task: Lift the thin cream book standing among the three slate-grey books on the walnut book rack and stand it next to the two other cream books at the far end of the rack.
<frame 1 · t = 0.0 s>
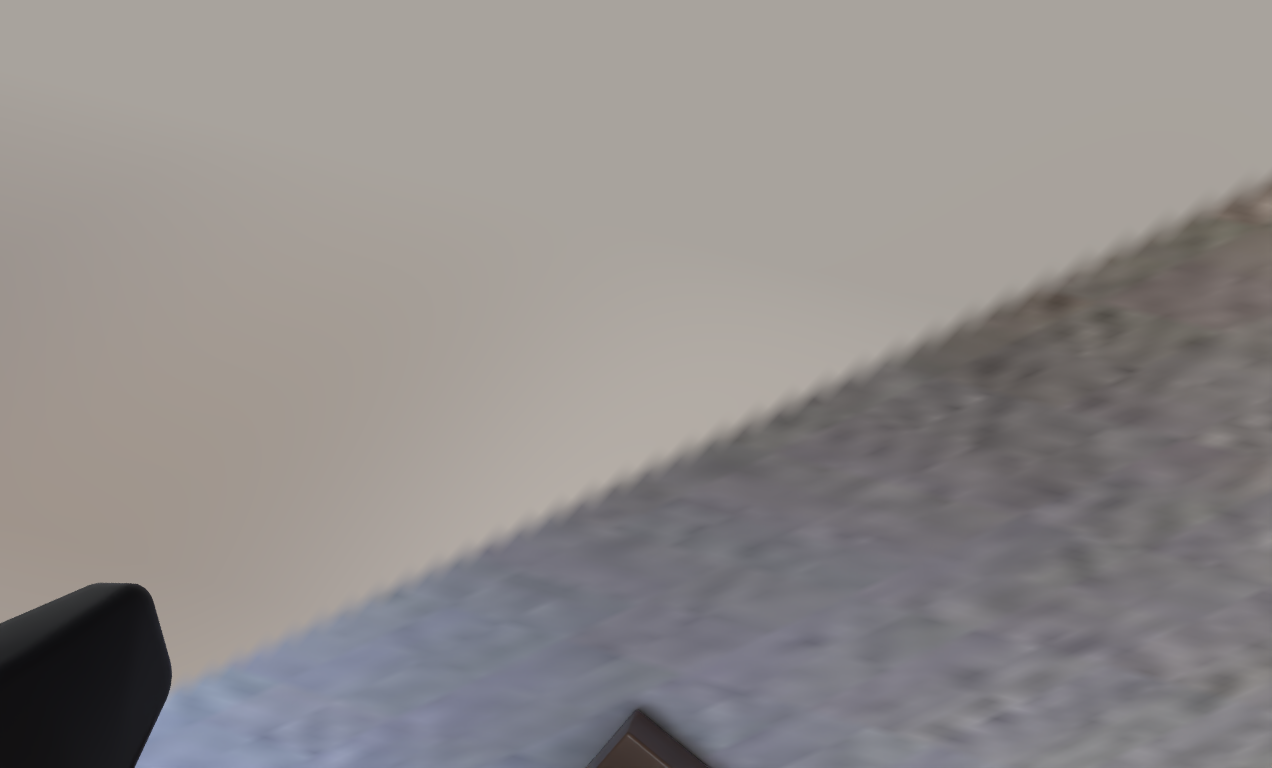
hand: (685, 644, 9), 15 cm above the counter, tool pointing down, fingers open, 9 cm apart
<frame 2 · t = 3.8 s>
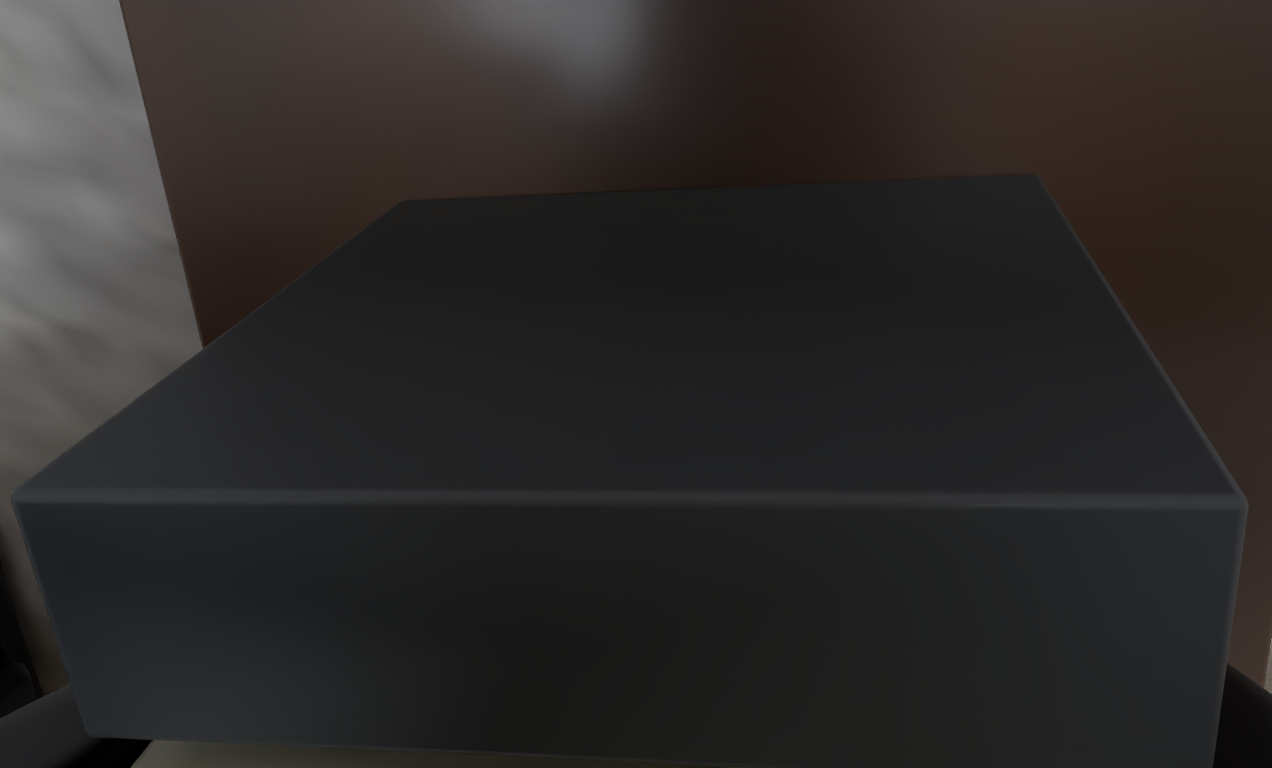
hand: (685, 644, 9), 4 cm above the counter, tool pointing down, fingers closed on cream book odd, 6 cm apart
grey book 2: (709, 268, 11), point 1 cm above the counter, touching book rack
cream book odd: (709, 514, 11), point 2 cm above the counter, touching gripper
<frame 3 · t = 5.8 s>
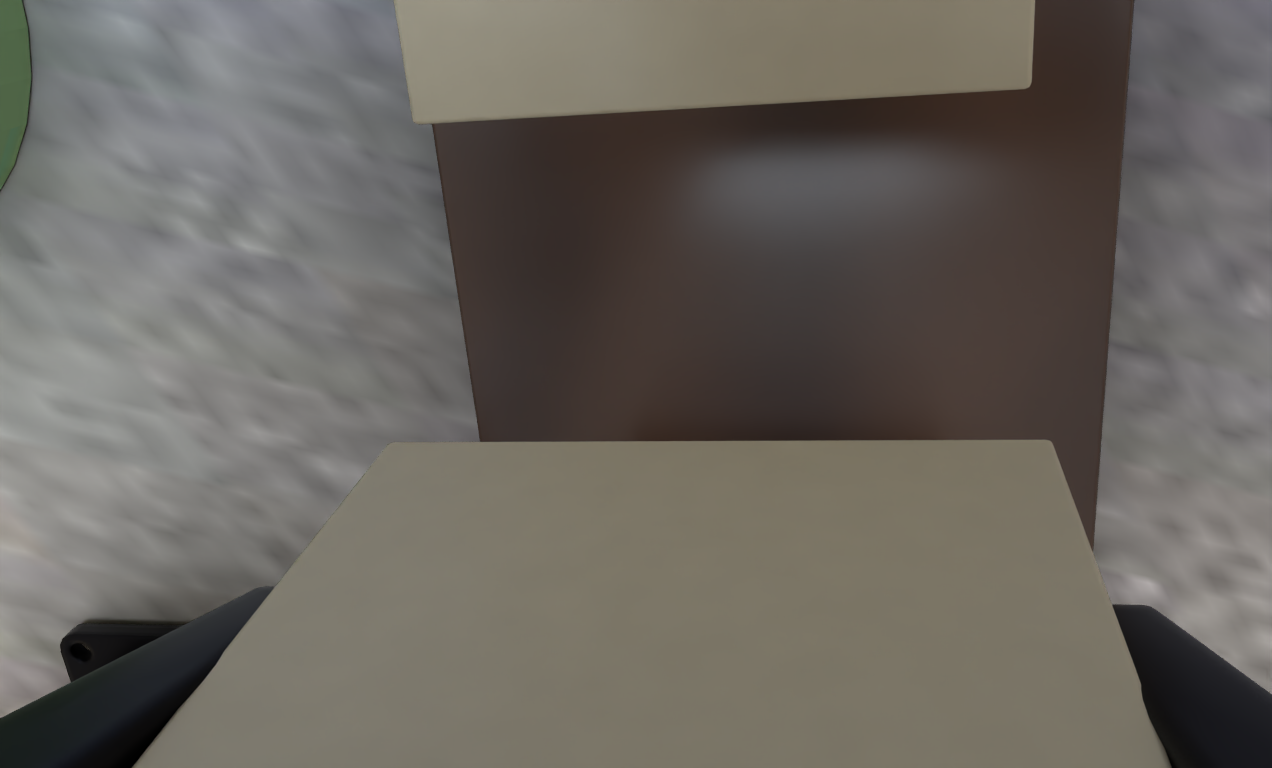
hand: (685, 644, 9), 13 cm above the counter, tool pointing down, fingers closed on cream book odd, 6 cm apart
book rack: (775, 321, 21), on the counter
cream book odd: (708, 516, 11), point 11 cm above the counter, touching gripper
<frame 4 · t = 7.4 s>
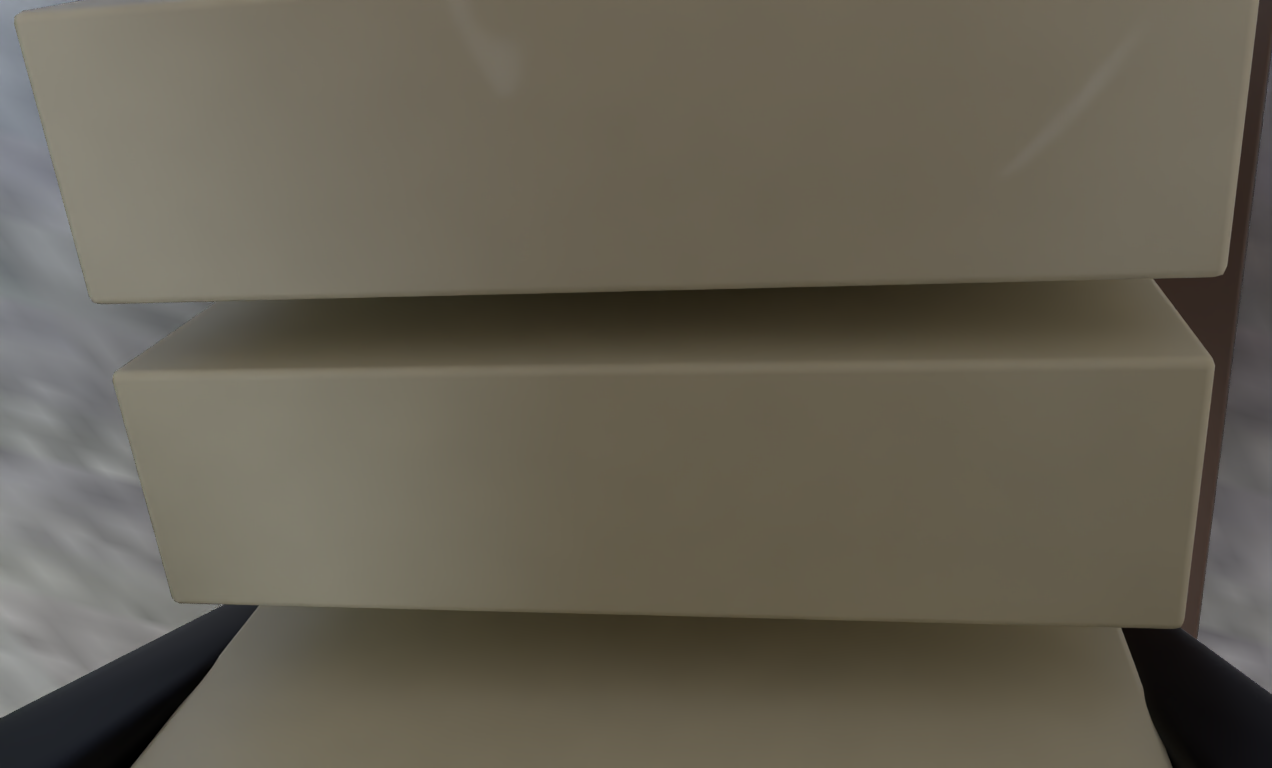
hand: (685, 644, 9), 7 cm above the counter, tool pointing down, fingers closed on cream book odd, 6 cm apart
cream book 1: (737, 178, 13), point 1 cm above the counter, touching book rack
book rack: (764, 585, 17), on the counter
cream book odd: (708, 515, 11), point 5 cm above the counter, touching gripper
when the fingers open (3 cm above the counter, at t = 8.9 s): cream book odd stays where it is, resting on book rack.
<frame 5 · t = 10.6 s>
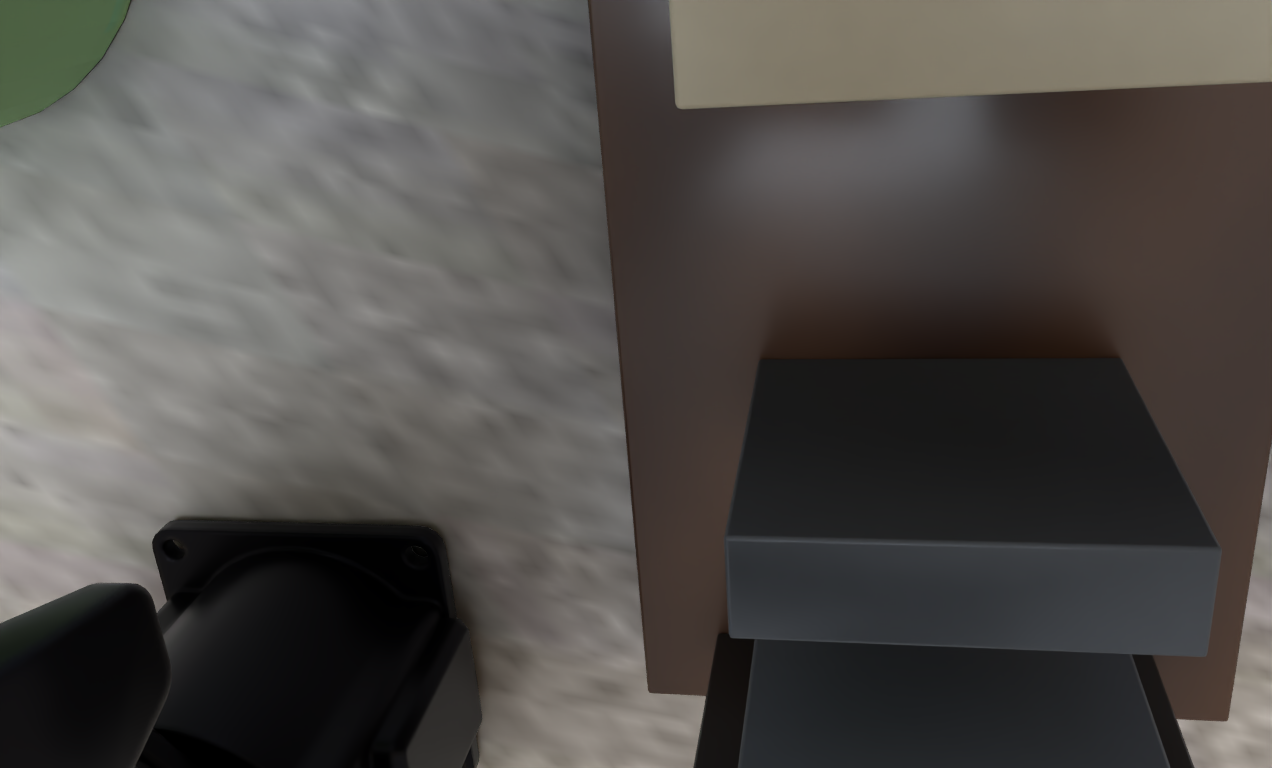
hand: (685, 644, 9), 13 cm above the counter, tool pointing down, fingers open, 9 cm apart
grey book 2: (934, 400, 20), point 1 cm above the counter, touching book rack
book rack: (935, 189, 20), on the counter
grey book 1: (928, 595, 22), point 1 cm above the counter, touching book rack
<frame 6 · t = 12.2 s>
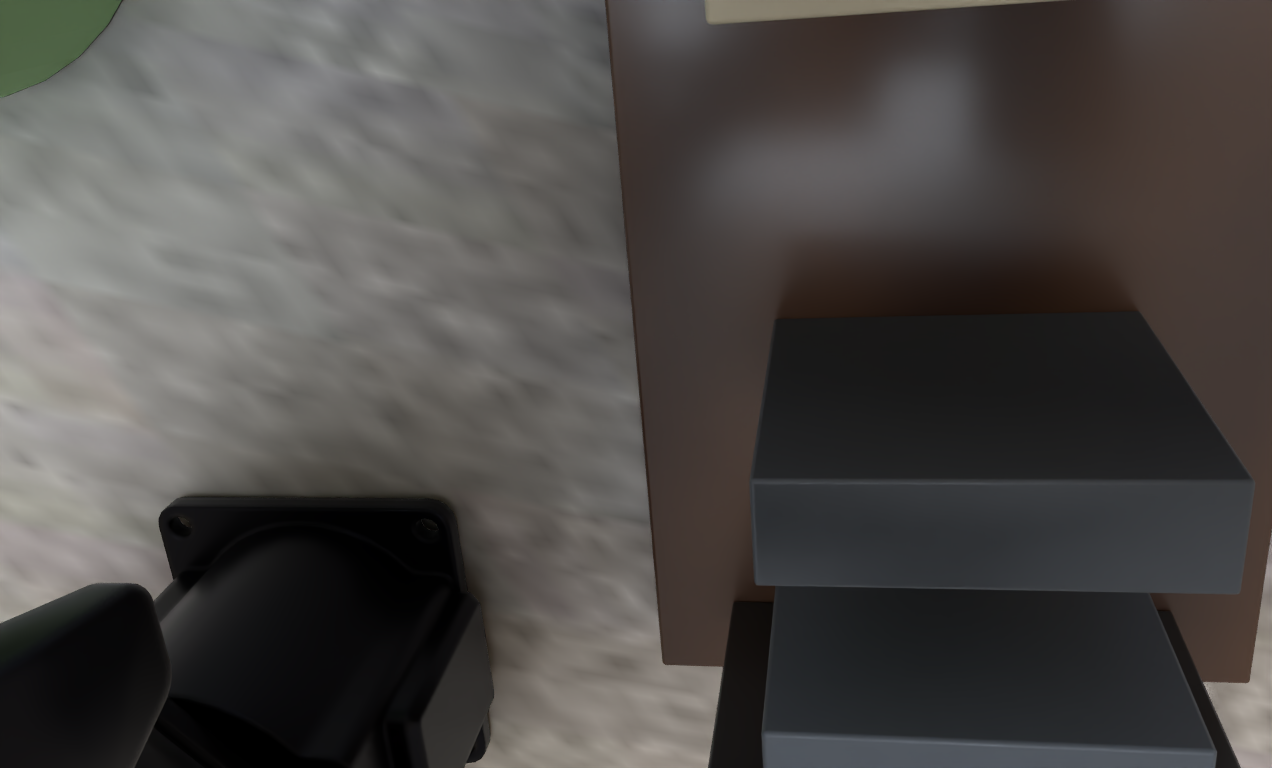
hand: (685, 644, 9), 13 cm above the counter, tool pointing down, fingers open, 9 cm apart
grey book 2: (951, 358, 20), point 1 cm above the counter, touching book rack
book rack: (950, 145, 20), on the counter
grey book 1: (946, 559, 22), point 1 cm above the counter, touching book rack
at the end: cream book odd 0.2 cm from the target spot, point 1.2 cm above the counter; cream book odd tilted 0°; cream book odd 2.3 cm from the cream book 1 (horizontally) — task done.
